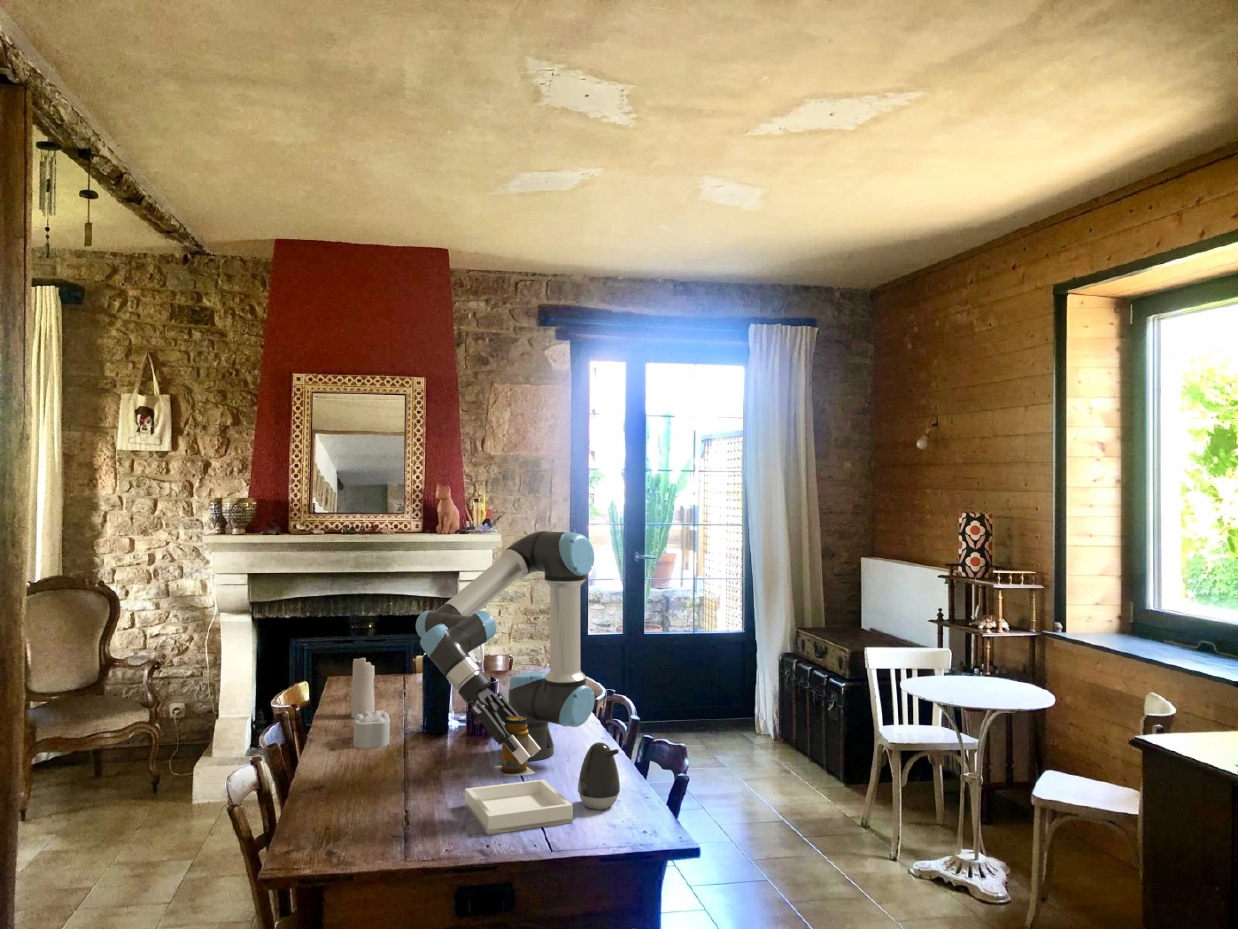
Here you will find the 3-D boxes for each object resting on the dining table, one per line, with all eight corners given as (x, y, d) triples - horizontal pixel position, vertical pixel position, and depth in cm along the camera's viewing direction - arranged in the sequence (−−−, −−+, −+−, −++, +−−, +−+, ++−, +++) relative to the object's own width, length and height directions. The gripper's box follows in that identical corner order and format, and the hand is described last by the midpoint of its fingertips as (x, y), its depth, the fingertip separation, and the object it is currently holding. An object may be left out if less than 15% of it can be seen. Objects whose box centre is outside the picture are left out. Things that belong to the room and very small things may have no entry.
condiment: (523, 764, 215) (525, 713, 215) (535, 774, 207) (537, 722, 207) (494, 767, 211) (496, 716, 212) (505, 777, 204) (507, 724, 204)
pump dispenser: (605, 816, 209) (606, 751, 210) (569, 807, 215) (570, 744, 215) (628, 804, 218) (629, 741, 219) (592, 796, 224) (594, 734, 224)
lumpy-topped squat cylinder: (353, 749, 260) (354, 719, 261) (352, 737, 273) (353, 709, 273) (390, 746, 264) (391, 717, 264) (387, 735, 276) (388, 707, 276)
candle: (393, 712, 305) (394, 653, 306) (361, 720, 294) (363, 659, 294) (378, 709, 309) (380, 651, 310) (346, 717, 297) (348, 656, 298)
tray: (543, 795, 223) (543, 779, 223) (572, 822, 205) (572, 805, 205) (464, 805, 215) (465, 788, 215) (488, 834, 197) (488, 816, 197)
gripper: (475, 683, 224) (535, 756, 219) (440, 699, 206) (504, 779, 201) (496, 663, 223) (556, 736, 218) (462, 677, 204) (527, 757, 199)
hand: (531, 756), depth 209 cm, fingers closed on condiment, 6 cm apart
